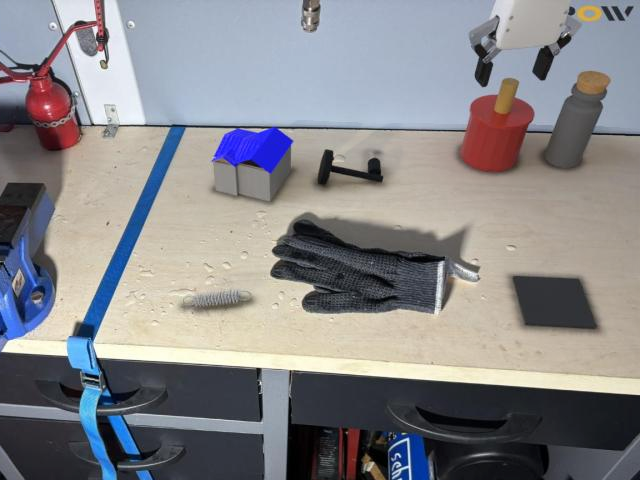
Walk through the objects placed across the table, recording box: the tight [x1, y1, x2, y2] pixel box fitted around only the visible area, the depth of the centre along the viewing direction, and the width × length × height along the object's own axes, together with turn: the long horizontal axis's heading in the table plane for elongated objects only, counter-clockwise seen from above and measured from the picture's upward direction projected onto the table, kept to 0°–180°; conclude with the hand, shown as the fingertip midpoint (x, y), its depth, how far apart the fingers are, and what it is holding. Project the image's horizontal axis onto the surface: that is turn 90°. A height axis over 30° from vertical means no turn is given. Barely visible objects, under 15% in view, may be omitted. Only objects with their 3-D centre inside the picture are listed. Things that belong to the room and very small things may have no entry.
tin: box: [460, 113, 530, 173], centre depth 104 cm, size 9×9×8 cm
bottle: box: [543, 70, 611, 169], centre depth 100 cm, size 6×6×15 cm
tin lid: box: [469, 77, 536, 130], centre depth 99 cm, size 10×10×6 cm
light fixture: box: [317, 148, 385, 186], centre depth 105 cm, size 6×11×13 cm
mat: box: [512, 275, 597, 330], centre depth 83 cm, size 9×9×1 cm
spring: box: [181, 289, 252, 308], centre depth 86 cm, size 10×2×2 cm, turn 95°
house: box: [210, 126, 294, 202], centre depth 103 cm, size 10×11×8 cm
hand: (509, 79), depth 97 cm, fingers open, 9 cm apart
